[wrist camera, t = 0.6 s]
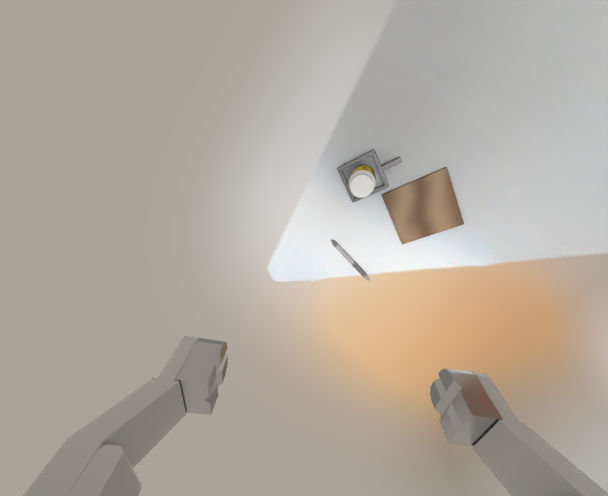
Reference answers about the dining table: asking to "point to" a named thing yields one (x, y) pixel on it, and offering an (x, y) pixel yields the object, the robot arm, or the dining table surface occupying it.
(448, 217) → the pad
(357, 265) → the pen
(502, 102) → the dining table surface
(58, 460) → the robot arm
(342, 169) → the grey frame with handle
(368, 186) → the supplement bottle
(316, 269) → the dining table surface
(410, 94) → the dining table surface
